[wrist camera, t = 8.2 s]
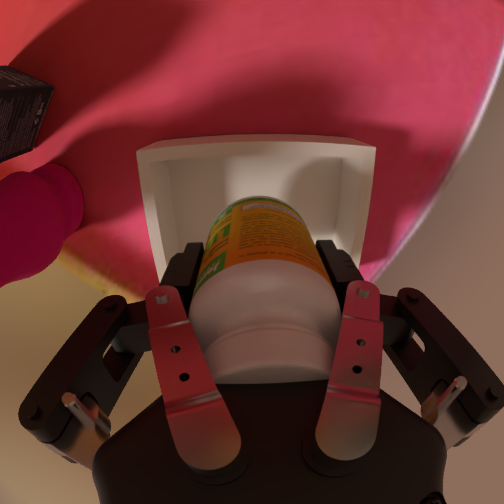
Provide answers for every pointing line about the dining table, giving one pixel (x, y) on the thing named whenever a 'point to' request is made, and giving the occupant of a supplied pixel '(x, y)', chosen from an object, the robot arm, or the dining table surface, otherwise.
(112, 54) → the dining table surface
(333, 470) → the robot arm
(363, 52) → the dining table surface
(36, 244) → the pepper mill
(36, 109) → the box
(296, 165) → the tub
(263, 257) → the supplement bottle
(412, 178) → the dining table surface
